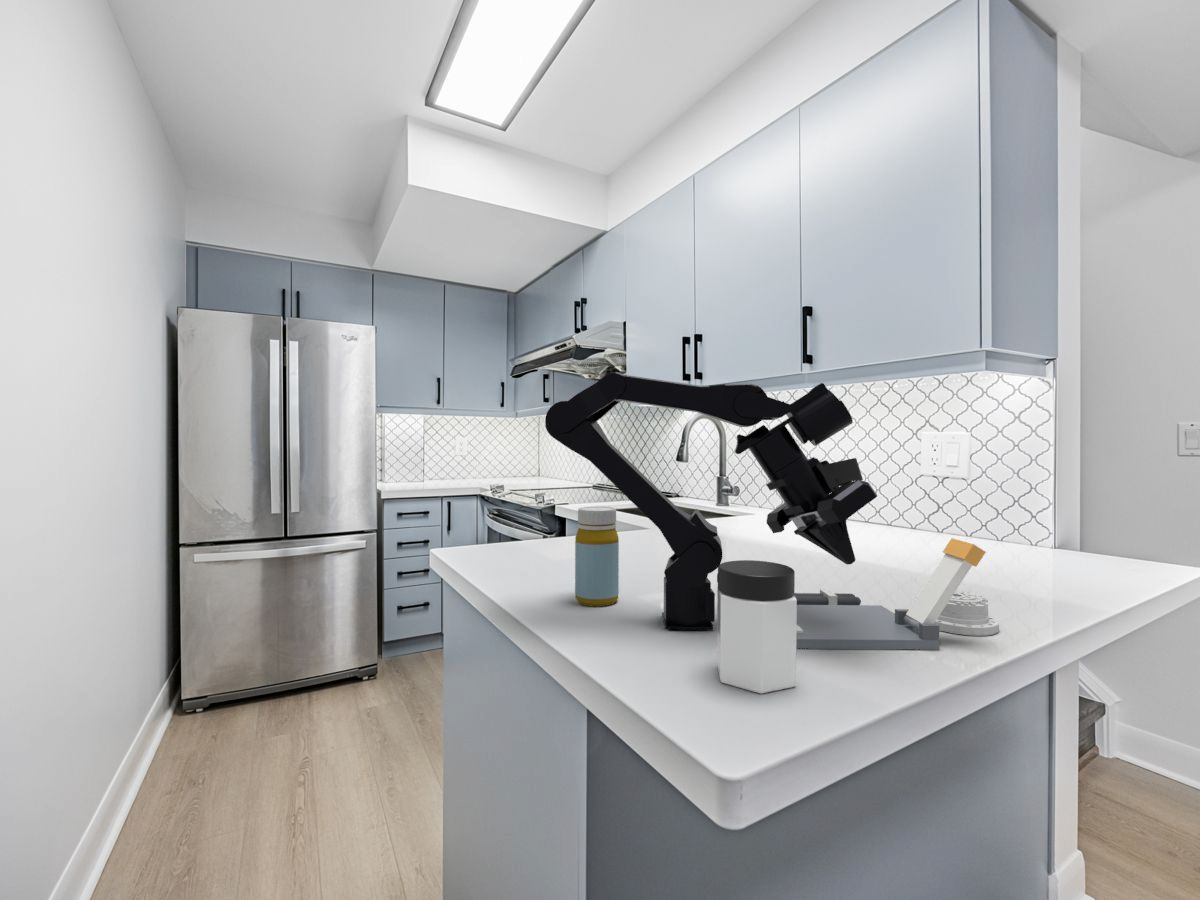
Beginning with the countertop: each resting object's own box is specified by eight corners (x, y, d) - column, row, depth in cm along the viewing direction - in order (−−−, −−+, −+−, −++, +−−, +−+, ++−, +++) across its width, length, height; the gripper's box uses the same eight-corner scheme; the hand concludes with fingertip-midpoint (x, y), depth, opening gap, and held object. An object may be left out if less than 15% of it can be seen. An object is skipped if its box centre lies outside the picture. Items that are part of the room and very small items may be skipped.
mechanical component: (929, 635, 76) (1013, 640, 74) (929, 602, 76) (1013, 607, 74) (906, 613, 86) (979, 617, 84) (906, 584, 86) (980, 588, 83)
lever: (917, 629, 71) (973, 544, 71) (898, 618, 76) (951, 538, 75) (929, 637, 71) (985, 552, 71) (909, 625, 76) (962, 545, 75)
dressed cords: (738, 606, 88) (738, 595, 88) (733, 599, 92) (733, 588, 92) (863, 607, 88) (863, 596, 88) (852, 600, 92) (852, 589, 92)
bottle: (592, 593, 96) (592, 505, 96) (626, 599, 92) (627, 508, 92) (566, 602, 90) (566, 509, 90) (601, 610, 86) (602, 512, 86)
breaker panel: (769, 648, 70) (769, 624, 70) (741, 612, 85) (741, 592, 85) (939, 650, 70) (939, 625, 70) (881, 613, 85) (881, 593, 85)
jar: (763, 657, 67) (764, 557, 67) (813, 684, 60) (814, 571, 59) (699, 668, 64) (700, 563, 64) (743, 699, 56) (744, 579, 56)
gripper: (869, 417, 70) (944, 524, 68) (795, 450, 88) (853, 535, 86) (803, 462, 67) (879, 575, 66) (740, 487, 85) (799, 575, 84)
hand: (851, 562), depth 75 cm, fingers closed
